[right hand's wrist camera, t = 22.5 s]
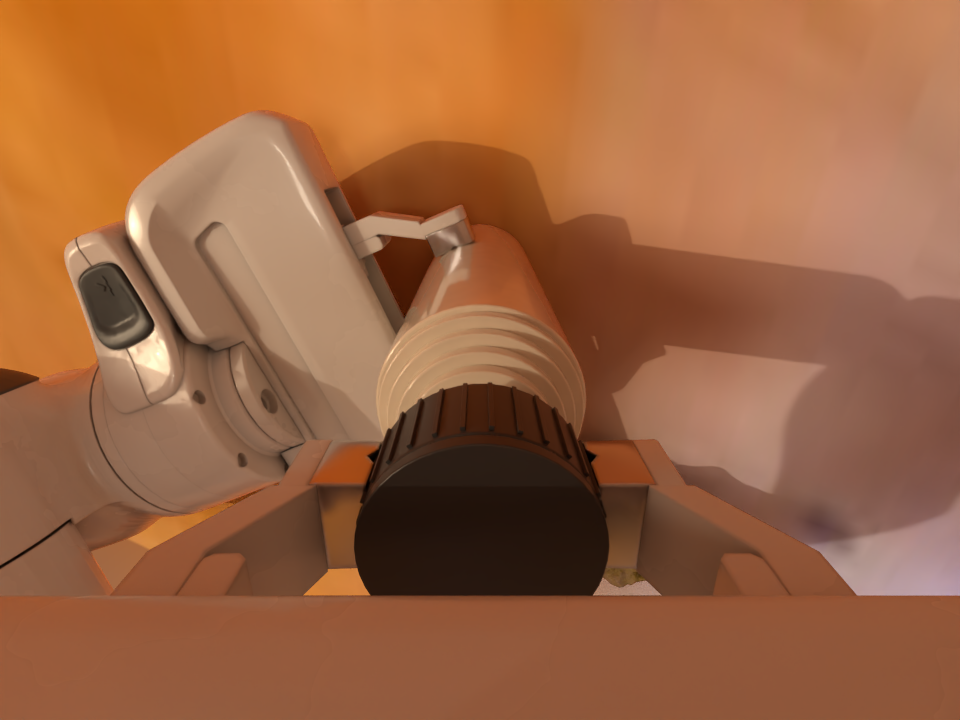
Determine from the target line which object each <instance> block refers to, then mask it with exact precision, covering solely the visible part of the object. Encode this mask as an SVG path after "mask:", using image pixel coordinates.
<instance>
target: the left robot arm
mask: <svg viewBox="0 0 960 720" xmlns="http://www.w3.org/2000/svg"><path fill="white" fill-rule="evenodd" d="M390 236H398V237H406V238H415V239H424V240H426V239H427V240H428V242H429V245H430V247H431V249H432V251H433V253H434V255H435V257H438V256H441V255H443V254H446V253H448V252H449V251H451V249H452V248H453V246H457V247H461V246H464V245H467V244H469V243H471V242H473V241H474V240H475V234H474V232H473V229H472V227H471V224H470V221H469V219H468V216H467V214H466V211H465V209H464V207H463V204H461V205H458V206H455V207H453V208H450V209H448V210H446V211H443V212H441V213H439V214H437V215H434V216H432V217H430V218H427V219H424V217H420V216H413V215H406V214H398V213H391V212H384V211H377V212H375V213H373V214H371V215H368V216H366V217H364V218H362V219H359V220H356V218H355V216H354V214H353V212H352V210H351V207H350V205H349V203H348V201H347V199H346V197H345V195H344V193H343V191H342V189H341V187H340V185H339V183H338V181H337V179H336V177H335V175H334V173H333V171H332V169H331V167H330V165H329V163H328V160H327V158H326V156H325V154H324V152H323V150H322V148H321V146H320V144H319V142H318V140H317V138H316V136H315V134H314V132H313V130H312V129H311V127H310V126H309V125H307V124H306V123H304V122H302V121H300V120H297V119H295V118H293V117H290V116H288V115H285V114H282V113H278V112H274V111H267V110H258V111H252V112H249V113H246V114H243V115H241V116H239V117H237V118H235V119H233V120H231V121H229V122H227V123H225V124H223V125H222V126H220V127H218V128H216V129H215V130H213V131H211V132H209V133H208V134H206V135H204V136H203V137H201V138H200V139H198V140H196V141H195V142H193V143H192V144H190V145H189V146H187V147H186V148H184V149H183V150H181V151H180V152H178V153H177V154H175V155H174V156H173V157H171V158H170V159H168V160H167V161H166V162H164V163H163V164H162V165H161V166H159V167H158V168H157V169H155V170H154V171H153V172H151V173H150V174H149V175H148V176H147V177H146V178H145V179H143V181H142V182H141V183H140V184H139V185H138V186H137V187H136V189H135V190H134V192H133V193H132V195H131V197H130V199H129V201H128V204H127V208H126V213H125V220H122V221H119V222H116V223H112V224H109V225H106V226H103V227H100V228H98V229H95V230H93V231H90V232H88V233H85V234H83V235H81V236H79V237H77V238H75V239H73V240H72V241H70V242H69V243H68V244H67V246H66V248H65V251H64V258H65V264H66V268H67V271H68V274H69V276H70V279H71V282H72V284H73V287H74V289H75V292H76V295H77V297H78V300H79V303H80V305H81V308H82V311H83V314H84V316H85V319H86V322H87V325H88V328H89V331H90V334H91V338H92V341H93V344H94V348H95V351H96V355H97V359H98V361H97V362H96V363H95V364H94V365H92V366H91V367H89V368H85V369H75V370H68V371H63V372H59V373H56V374H53V375H50V376H47V377H45V378H42V379H40V380H39V377H36V376H33V375H30V374H26V373H23V372H18V371H14V370H8V369H2V368H0V596H109V595H110V594H111V593H112V592H113V591H114V590H113V588H112V586H111V585H110V583H109V581H108V580H107V578H106V576H105V575H104V573H103V571H102V570H101V568H100V566H99V565H98V563H97V561H96V560H95V558H94V556H93V555H92V553H91V551H93V550H96V549H99V548H102V547H105V546H108V545H111V544H114V543H117V542H119V541H122V540H125V539H128V538H130V537H132V536H134V535H136V534H138V533H140V532H142V531H144V530H145V529H147V528H148V527H150V526H151V525H152V524H154V523H155V522H156V521H157V520H158V519H160V518H161V517H174V516H185V515H190V514H193V513H197V512H201V511H203V510H206V509H209V508H212V507H214V506H217V505H220V504H222V503H225V502H228V501H231V500H233V499H236V498H239V497H241V496H244V495H247V494H249V493H252V492H254V491H257V490H260V489H263V488H265V487H268V486H270V485H274V484H276V483H279V482H280V481H281V480H282V478H283V477H284V475H285V473H286V472H287V470H288V469H289V467H290V465H291V464H292V462H293V461H294V459H295V457H296V456H297V454H298V453H299V451H300V449H301V448H302V446H303V445H304V443H305V442H306V441H308V440H328V439H332V440H368V441H383V440H384V437H383V434H382V431H381V427H380V423H379V420H378V416H377V409H376V387H377V382H378V377H379V374H380V371H381V368H382V365H383V363H384V361H385V359H386V357H387V354H388V352H389V350H390V348H391V346H392V344H393V342H394V340H395V337H396V335H397V333H398V331H399V329H400V327H401V325H402V323H403V320H404V316H403V314H402V312H401V310H400V308H399V306H398V304H397V302H396V300H395V298H394V296H393V293H392V291H391V289H390V287H389V285H388V283H387V281H386V279H385V277H384V275H383V273H382V271H381V269H380V267H379V265H378V263H377V261H376V259H375V257H374V255H373V253H375V252H377V251H379V250H382V249H383V248H384V247H385V246H386V245H387V244H388V243H389V242H390V241H391V237H390Z"/></svg>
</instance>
